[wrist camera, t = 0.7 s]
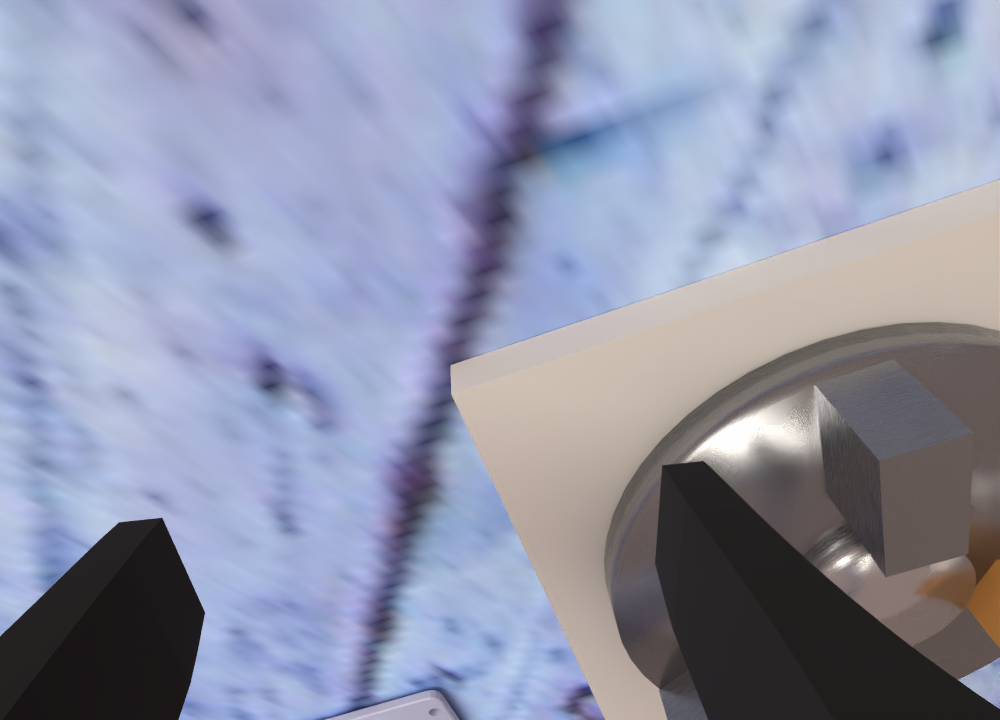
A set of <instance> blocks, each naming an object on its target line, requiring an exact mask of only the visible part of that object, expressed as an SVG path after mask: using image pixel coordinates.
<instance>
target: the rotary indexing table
mask: <svg viewBox="0 0 1000 720" xmlns="http://www.w3.org/2000/svg"><path fill="white" fill-rule="evenodd" d="M698 461H704V462H705V463H707V464H708V465H709V466H710V467H711V468H712V469H713V470H714V471H715V472H716V473H717V474H718V475H719V476H720V477H721V478H722V479H723V480H724V481H725V482H726V483H727V484H728V485H729V486H730V487H731V488H732V489H733V490H734V491H735V492H736V493H737V494H738V495H739V496H740V497H741V498H743V499H744V500H745V501H746V502H747V503H748V504H749V505H750V506H751V507H752V508H753V509H754V510H755V511H756V512H757V513H758V514H759V515H760V516H761V517H762V518H763V519H764V520H765V521H766V522H767V523H768V524H769V525H770V526H771V527H773V528H774V529H775V530H776V531H777V532H778V533H779V534H780V535H781V536H782V537H783V538H784V539H785V540H786V541H787V542H789V543H790V544H791V545H792V546H793V547H794V548H795V549H796V550H797V551H799V552H800V553H801V554H802V555H803V556H804V557H805V558H806V559H807V560H809V561H810V562H811V563H812V564H813V565H814V566H815V567H816V568H817V569H819V570H820V571H821V572H822V573H823V574H824V575H825V576H826V577H827V578H829V579H830V580H831V581H832V582H833V583H834V584H836V585H837V586H838V587H839V588H840V589H841V590H843V591H844V592H845V593H846V594H847V595H848V596H850V597H851V598H852V599H853V600H854V601H856V602H857V603H858V604H859V605H861V606H862V607H863V608H864V609H865V610H867V611H868V612H869V613H870V614H871V615H873V616H874V617H875V618H876V619H878V620H879V621H880V622H881V623H882V624H884V625H885V626H886V627H887V628H889V629H890V630H891V631H893V632H894V633H895V634H896V635H898V636H899V637H900V638H901V639H903V640H904V641H905V642H907V643H908V644H909V645H910V646H912V647H913V648H914V649H916V650H917V651H918V652H920V653H921V654H922V655H924V656H925V657H926V658H928V659H929V660H931V661H932V662H933V663H935V664H936V665H938V666H939V667H940V668H942V669H943V670H944V671H946V672H947V673H949V674H950V675H951V676H953V677H954V678H956V679H957V680H958V679H960V678H963V677H965V676H966V675H968V674H970V673H972V672H974V671H976V670H978V669H980V668H982V667H984V666H985V665H987V664H989V663H991V662H993V661H994V660H996V659H997V658H999V657H1000V331H998V330H993V329H989V328H984V327H980V326H975V325H969V324H957V323H945V322H924V323H901V324H894V325H888V326H882V327H875V328H869V329H863V330H859V331H855V332H851V333H847V334H844V335H840V336H836V337H832V338H829V339H825V340H822V341H819V342H816V343H814V344H811V345H808V346H806V347H803V348H801V349H798V350H795V351H793V352H790V353H787V354H785V355H783V356H781V357H779V358H777V359H775V360H773V361H771V362H769V363H767V364H765V365H763V366H760V367H758V368H756V369H754V370H752V371H750V372H749V373H747V374H745V375H744V376H742V377H741V378H739V379H737V380H736V381H734V382H732V383H731V384H729V385H728V386H726V387H724V388H723V389H721V390H720V391H718V392H716V393H715V394H714V395H713V396H711V397H710V398H709V399H707V400H706V401H705V402H703V403H702V404H701V405H700V406H698V407H697V408H696V409H694V410H693V411H692V412H690V413H689V414H688V415H687V416H686V417H685V418H683V419H682V420H681V421H680V422H679V423H678V424H677V425H676V426H675V427H674V428H673V429H672V430H671V431H670V432H669V433H668V434H667V435H666V436H665V437H664V438H663V439H661V441H660V442H659V443H658V444H657V445H656V447H655V448H654V449H653V450H652V451H651V453H650V454H649V455H648V456H647V457H646V459H645V460H644V461H643V462H642V463H641V465H640V466H639V468H638V469H637V471H636V473H635V474H634V476H633V477H632V479H631V480H630V482H629V483H628V485H627V487H626V488H625V490H624V492H623V494H622V496H621V498H620V501H619V503H618V505H617V507H616V509H615V511H614V514H613V517H612V520H611V524H610V527H609V531H608V534H607V538H606V546H605V555H604V569H605V581H606V586H607V590H608V594H609V597H610V601H611V605H612V609H613V613H614V616H615V620H616V624H617V628H618V631H619V635H620V638H621V642H622V644H623V646H624V648H625V650H626V651H627V653H628V655H629V657H630V659H631V661H632V662H633V663H634V664H635V666H636V667H637V668H638V669H639V670H640V672H641V673H642V674H643V675H644V676H645V677H646V678H647V679H648V680H649V681H651V682H652V683H653V684H654V685H655V686H656V687H658V688H659V689H660V690H659V693H660V696H661V700H662V703H663V706H664V710H665V713H666V717H667V720H708V718H707V716H706V713H705V711H704V708H703V706H702V703H701V701H700V698H699V696H698V693H697V691H696V688H695V685H694V683H693V680H692V678H691V675H690V673H689V670H688V668H687V665H686V662H685V660H684V657H683V655H682V652H681V650H680V647H679V644H678V642H677V639H676V637H675V634H674V631H673V629H672V625H671V621H670V618H669V614H668V611H667V607H666V603H665V600H664V596H663V592H662V588H661V584H660V581H659V577H658V573H657V569H656V565H655V556H656V542H657V529H658V515H659V501H660V488H661V474H662V465H669V464H679V463H688V462H698Z"/></svg>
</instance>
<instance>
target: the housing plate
mask: <svg viewBox="0 0 1000 720" xmlns="http://www.w3.org/2000/svg"><path fill="white" fill-rule="evenodd" d="M924 322H945V323H957V324H969V325H975V326H980V327H984V328H989V329H993V330H998V331H1000V180H997V181H994V182H991V183H988V184H985V185H982V186H979V187H976V188H973V189H970V190H967V191H964V192H961V193H958V194H955V195H952V196H950V197H947V198H944V199H941V200H938V201H935V202H932V203H929V204H926V205H923V206H920V207H917V208H914V209H911V210H908V211H905V212H902V213H899V214H896V215H893V216H890V217H887V218H884V219H882V220H879V221H876V222H873V223H870V224H867V225H864V226H861V227H858V228H855V229H852V230H849V231H846V232H843V233H840V234H837V235H834V236H831V237H828V238H825V239H822V240H819V241H816V242H814V243H811V244H808V245H805V246H802V247H799V248H796V249H793V250H790V251H787V252H784V253H781V254H778V255H775V256H772V257H769V258H766V259H763V260H760V261H757V262H754V263H751V264H748V265H746V266H743V267H740V268H737V269H734V270H731V271H728V272H725V273H722V274H719V275H716V276H713V277H710V278H707V279H704V280H701V281H698V282H695V283H692V284H689V285H686V286H683V287H680V288H678V289H675V290H672V291H669V292H666V293H663V294H660V295H657V296H654V297H651V298H648V299H645V300H642V301H639V302H636V303H633V304H630V305H627V306H624V307H621V308H618V309H615V310H612V311H610V312H607V313H604V314H601V315H598V316H595V317H592V318H589V319H586V320H583V321H580V322H577V323H574V324H571V325H568V326H565V327H562V328H559V329H556V330H553V331H550V332H547V333H544V334H542V335H539V336H536V337H533V338H530V339H527V340H524V341H521V342H518V343H515V344H512V345H509V346H506V347H503V348H500V349H497V350H494V351H491V352H488V353H485V354H482V355H479V356H476V357H474V358H471V359H468V360H465V361H462V362H459V363H456V364H453V365H451V394H452V396H453V399H454V401H455V403H456V405H457V407H458V409H459V411H460V413H461V416H462V418H463V420H464V422H465V424H466V426H467V428H468V430H469V432H470V435H471V437H472V439H473V441H474V443H475V445H476V447H477V449H478V451H479V454H480V456H481V458H482V460H483V462H484V464H485V466H486V468H487V471H488V473H489V475H490V477H491V479H492V481H493V483H494V485H495V487H496V490H497V492H498V494H499V496H500V498H501V500H502V502H503V504H504V506H505V509H506V511H507V513H508V515H509V517H510V519H511V521H512V523H513V525H514V528H515V530H516V532H517V534H518V536H519V538H520V540H521V542H522V545H523V547H524V549H525V551H526V553H527V555H528V557H529V559H530V561H531V564H532V566H533V568H534V570H535V572H536V574H537V576H538V578H539V580H540V583H541V585H542V587H543V589H544V591H545V593H546V595H547V597H548V599H549V602H550V604H551V606H552V608H553V610H554V612H555V614H556V616H557V619H558V621H559V623H560V625H561V627H562V629H563V631H564V633H565V635H566V638H567V640H568V642H569V644H570V646H571V648H572V650H573V652H574V654H575V657H576V659H577V661H578V663H579V665H580V667H581V669H582V671H583V673H584V676H585V678H586V680H587V682H588V684H589V686H590V688H591V690H592V693H593V695H594V697H595V699H596V701H597V703H598V705H599V707H600V709H601V712H602V714H603V716H604V718H605V720H667V717H666V713H665V710H664V706H663V703H662V700H661V696H660V693H659V690H660V689H659V688H658V687H656V686H655V685H654V684H653V683H652V682H651V681H649V680H648V679H647V678H646V677H645V676H644V675H643V674H642V673H641V672H640V670H639V669H638V668H637V667H636V666H635V664H634V663H633V662H632V661H631V659H630V657H629V655H628V653H627V651H626V650H625V648H624V646H623V644H622V642H621V638H620V635H619V631H618V628H617V624H616V620H615V616H614V613H613V609H612V605H611V601H610V597H609V594H608V590H607V586H606V581H605V569H604V555H605V546H606V538H607V534H608V531H609V527H610V524H611V520H612V517H613V514H614V511H615V509H616V507H617V505H618V503H619V501H620V498H621V496H622V494H623V492H624V490H625V488H626V487H627V485H628V483H629V482H630V480H631V479H632V477H633V476H634V474H635V473H636V471H637V469H638V468H639V466H640V465H641V463H642V462H643V461H644V460H645V459H646V457H647V456H648V455H649V454H650V453H651V451H652V450H653V449H654V448H655V447H656V445H657V444H658V443H659V442H660V441H661V439H663V438H664V437H665V436H666V435H667V434H668V433H669V432H670V431H671V430H672V429H673V428H674V427H675V426H676V425H677V424H678V423H679V422H680V421H681V420H682V419H683V418H685V417H686V416H687V415H688V414H689V413H690V412H692V411H693V410H694V409H696V408H697V407H698V406H700V405H701V404H702V403H703V402H705V401H706V400H707V399H709V398H710V397H711V396H713V395H714V394H715V393H716V392H718V391H720V390H721V389H723V388H724V387H726V386H728V385H729V384H731V383H732V382H734V381H736V380H737V379H739V378H741V377H742V376H744V375H745V374H747V373H749V372H750V371H752V370H754V369H756V368H758V367H760V366H763V365H765V364H767V363H769V362H771V361H773V360H775V359H777V358H779V357H781V356H783V355H785V354H787V353H790V352H793V351H795V350H798V349H801V348H803V347H806V346H808V345H811V344H814V343H816V342H819V341H822V340H825V339H829V338H832V337H836V336H840V335H844V334H847V333H851V332H855V331H859V330H863V329H869V328H875V327H882V326H888V325H894V324H901V323H924Z"/></svg>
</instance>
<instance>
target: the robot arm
mask: <svg viewBox="0 0 1000 720" xmlns="http://www.w3.org/2000/svg"><path fill="white" fill-rule="evenodd" d="M655 565H656V569H657V573H658V577H659V581H660V584H661V588H662V592H663V596H664V600H665V603H666V607H667V611H668V614H669V618H670V621H671V625H672V629H673V631H674V634H675V637H676V639H677V642H678V644H679V647H680V650H681V652H682V655H683V657H684V660H685V662H686V665H687V668H688V670H689V673H690V675H691V678H692V680H693V683H694V685H695V688H696V691H697V693H698V696H699V698H700V701H701V703H702V706H703V708H704V711H705V713H706V716H707V718H708V720H1000V709H999V708H997V707H996V706H994V705H993V704H991V703H990V702H988V701H987V700H985V699H984V698H982V697H981V696H979V695H978V694H976V693H975V692H974V691H972V690H971V689H969V688H968V687H967V686H965V685H964V684H962V683H961V682H960V681H958V680H957V679H956V678H954V677H953V676H951V675H950V674H949V673H947V672H946V671H944V670H943V669H942V668H940V667H939V666H938V665H936V664H935V663H933V662H932V661H931V660H929V659H928V658H926V657H925V656H924V655H922V654H921V653H920V652H918V651H917V650H916V649H914V648H913V647H912V646H910V645H909V644H908V643H907V642H905V641H904V640H903V639H901V638H900V637H899V636H898V635H896V634H895V633H894V632H893V631H891V630H890V629H889V628H887V627H886V626H885V625H884V624H882V623H881V622H880V621H879V620H878V619H876V618H875V617H874V616H873V615H871V614H870V613H869V612H868V611H867V610H865V609H864V608H863V607H862V606H861V605H859V604H858V603H857V602H856V601H854V600H853V599H852V598H851V597H850V596H848V595H847V594H846V593H845V592H844V591H843V590H841V589H840V588H839V587H838V586H837V585H836V584H834V583H833V582H832V581H831V580H830V579H829V578H827V577H826V576H825V575H824V574H823V573H822V572H821V571H820V570H819V569H817V568H816V567H815V566H814V565H813V564H812V563H811V562H810V561H809V560H807V559H806V558H805V557H804V556H803V555H802V554H801V553H800V552H799V551H797V550H796V549H795V548H794V547H793V546H792V545H791V544H790V543H789V542H787V541H786V540H785V539H784V538H783V537H782V536H781V535H780V534H779V533H778V532H777V531H776V530H775V529H774V528H773V527H771V526H770V525H769V524H768V523H767V522H766V521H765V520H764V519H763V518H762V517H761V516H760V515H759V514H758V513H757V512H756V511H755V510H754V509H753V508H752V507H751V506H750V505H749V504H748V503H747V502H746V501H745V500H744V499H743V498H741V497H740V496H739V495H738V494H737V493H736V492H735V491H734V490H733V489H732V488H731V487H730V486H729V485H728V484H727V483H726V482H725V481H724V480H723V479H722V478H721V477H720V476H719V475H718V474H717V473H716V472H715V471H714V470H713V469H712V468H711V467H710V466H709V465H708V464H707V463H705V462H704V461H698V462H688V463H679V464H669V465H662V474H661V488H660V501H659V515H658V529H657V542H656V556H655ZM204 615H205V612H204V609H203V607H202V605H201V603H200V601H199V598H198V596H197V594H196V592H195V589H194V587H193V585H192V583H191V581H190V578H189V576H188V574H187V572H186V570H185V567H184V565H183V563H182V561H181V558H180V556H179V554H178V552H177V550H176V547H175V545H174V543H173V541H172V538H171V536H170V534H169V532H168V530H167V527H166V525H165V523H164V521H163V519H162V518H157V519H147V520H138V521H128V522H119V523H118V524H117V525H116V526H115V527H114V528H112V529H111V530H110V531H109V532H108V533H107V534H106V535H105V536H104V537H103V538H102V539H100V540H99V541H98V542H97V543H96V544H95V545H94V546H93V547H92V548H91V549H90V550H89V551H88V552H87V553H86V554H85V555H84V556H83V557H82V558H81V559H80V560H79V561H78V562H77V563H75V564H74V565H73V566H72V567H71V568H70V569H69V570H68V571H67V572H66V573H65V574H64V575H63V576H62V577H61V578H60V579H59V580H58V581H57V582H56V583H55V584H54V585H53V586H52V587H51V588H50V589H49V590H48V591H47V592H46V593H45V594H44V595H43V596H42V597H41V598H40V599H39V600H38V601H37V602H36V603H35V604H33V605H32V606H31V607H30V608H29V609H28V610H27V611H26V612H25V613H24V614H23V615H22V616H21V617H20V618H19V619H18V620H17V621H16V622H15V623H14V624H13V625H12V626H11V627H10V628H9V629H7V630H6V631H5V632H4V633H3V634H2V635H1V636H0V720H178V719H179V716H180V713H181V710H182V707H183V705H184V702H185V698H186V695H187V692H188V689H189V686H190V683H191V678H192V674H193V669H194V665H195V660H196V656H197V651H198V646H199V641H200V636H201V630H202V625H203V620H204ZM325 720H459V718H458V717H457V715H456V714H455V712H454V711H453V710H452V708H451V707H450V705H449V704H448V702H447V701H446V699H445V698H444V696H443V695H442V694H441V693H440V692H438V691H436V690H427V691H423V692H420V693H416V694H413V695H409V696H406V697H402V698H399V699H395V700H392V701H388V702H385V703H381V704H378V705H374V706H371V707H367V708H364V709H360V710H357V711H353V712H350V713H346V714H343V715H339V716H336V717H332V718H329V719H325Z"/></svg>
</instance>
